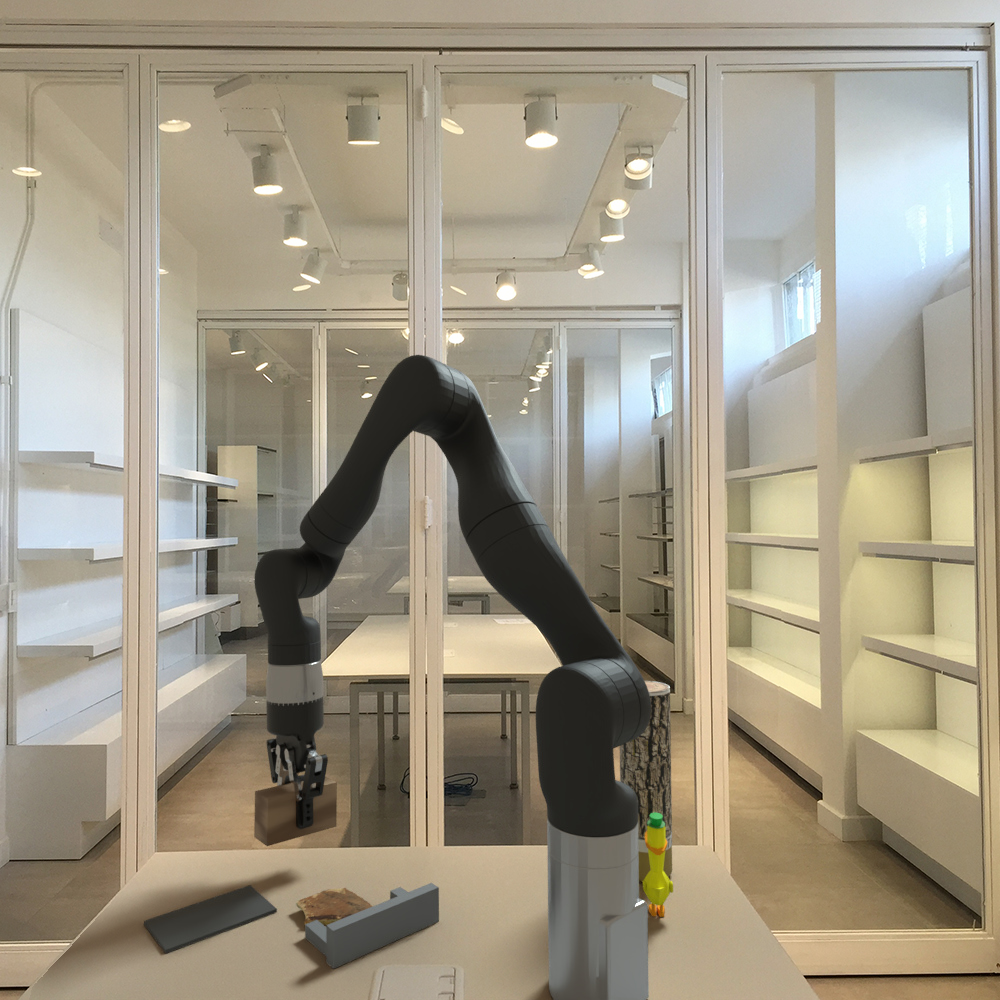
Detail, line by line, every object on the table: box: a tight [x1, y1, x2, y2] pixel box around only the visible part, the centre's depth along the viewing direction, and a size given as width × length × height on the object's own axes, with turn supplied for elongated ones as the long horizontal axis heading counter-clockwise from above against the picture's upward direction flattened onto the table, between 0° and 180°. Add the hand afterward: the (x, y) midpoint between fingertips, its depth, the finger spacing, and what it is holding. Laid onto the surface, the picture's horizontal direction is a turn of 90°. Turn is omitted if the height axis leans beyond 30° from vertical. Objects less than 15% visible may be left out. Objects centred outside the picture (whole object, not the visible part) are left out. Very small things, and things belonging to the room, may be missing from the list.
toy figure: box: [642, 812, 674, 918], centre depth 91 cm, size 7×4×12 cm, turn 175°
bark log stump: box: [619, 680, 673, 883], centre depth 101 cm, size 7×7×25 cm
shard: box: [295, 887, 374, 927], centre depth 90 cm, size 11×8×2 cm
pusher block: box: [253, 776, 338, 847], centre depth 102 cm, size 4×10×6 cm, turn 131°
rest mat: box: [143, 884, 278, 954], centre depth 90 cm, size 8×13×1 cm, turn 131°
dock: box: [304, 882, 440, 969], centre depth 88 cm, size 8×14×4 cm, turn 131°
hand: (296, 821), depth 102 cm, fingers closed on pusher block, 4 cm apart
